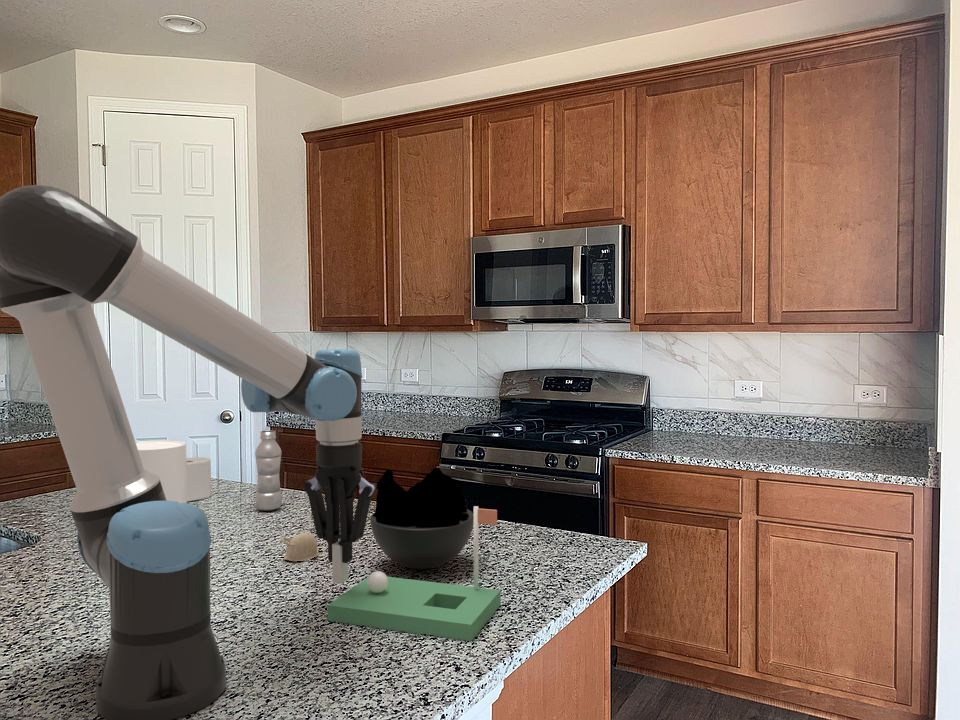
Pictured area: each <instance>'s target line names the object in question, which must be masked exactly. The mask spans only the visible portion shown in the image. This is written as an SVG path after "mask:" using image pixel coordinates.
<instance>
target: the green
mask: <svg viewBox="0 0 960 720" xmlns="http://www.w3.org/2000/svg"><path fill="white" fill-rule="evenodd" d="M473 514H474V525H473V586H468V585H467V586H466V585H459V584H451V583H445V582H443V583H442V582H433V581H427V580H419V579H418V580H417V579H411V578H409V579H408V578H401V577H392V576H387V578H388V586H387V588H386V589H385V590H384V591H383V592H381V593H373V592H372V591H370V590H369V588H368V586H367V579H368V577H369V576H367V577H366V578H364V579H363V580H362V581H360V582H358V584H356V585H354V586H353V587H352V588H350V589H349V590H347V591H345V592H344V593H343V594H342V595H340V596H339V597H337V598H336V599H335V600H333V601H332V602H330V603H329V604H328V605H327V621H328V620H329V621H328V622H333V621H335V622H334V623H340V622H343V623H342V624H347V623H349V624H350V625H354V624H357V625H356V626H361V625H364V626H363V627H368V626H369V628H370V627H371V628H376V629H384V630H389V631H390V630H391V631H396V630H397V631H398V632H403V631H404V633H410V632H411V633H410V634H417V633H419V634H418V635H423V634H426V636H430V635H434V636H433V637H437V636H440V637H439V638H444V637H446V639H451V638H453V639H454V640H458V639H459V640H460V641H467V642H472V641H473V640H474V639H475V637H476V636H477V635H478V634H479V633H480V631H481V630H482V629H483V627H485V625H486V624H487V623H488V622H489V620H490V618H492V616H493V615H494V614H495V612H496V611H497V610H498V609H499V608H500V606H501V597H502V595H501V594H502V593H501V589H493V588H486V587H479V524H481V525H482V524H483V525H492V526H493V525H494V526H497V524H498V510H497V509H488V508H479V506H478V505H477V506H476V505H474V506H473ZM336 621H337V622H336ZM485 623H486V624H485ZM349 624H348V625H349ZM397 631H396V632H397ZM453 639H452V640H453Z"/></svg>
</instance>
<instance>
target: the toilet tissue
mask: <svg viewBox="0 0 960 720" xmlns="http://www.w3.org/2000/svg"><path fill="white" fill-rule="evenodd" d="M211 462H212V461H211V458H208V457H202V456H201V457H200V456H197V457H195V456H194V457H193V456H192V457H186V480H187V502H191V501H199V500H203V499H205V500H206V499H207V498H210V497H211V496H212V473H211V472H212V471H211V467H212V466H211V464H212V463H211Z"/></svg>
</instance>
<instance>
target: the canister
mask: <svg viewBox="0 0 960 720" xmlns="http://www.w3.org/2000/svg"><path fill="white" fill-rule="evenodd" d="M135 442H136V446H137V449H138V452H139V455H140V458H141V461H142V464H143V467H144V469H145V470H146V471H149V472H151V473H153V474H156V475H158V476H159V479H160V482H161V485H162V488H163V491H164V494H165V497H166V500H167V501H177V502H178V503H188V501H187V480H186V458H187V445H186V444H187V443H186V441H183V440H171V439H170V440H169V439H165V440H164V439H163V440H162V439H161V440H160V439H159V440H145V441H143V440H142V441H135Z"/></svg>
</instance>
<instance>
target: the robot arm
mask: <svg viewBox="0 0 960 720" xmlns="http://www.w3.org/2000/svg"><path fill="white" fill-rule="evenodd" d="M141 243H142V242H141V240H140V237H139V236H137V235H136V234H134V233H132V232H131V231H129V230H128V229H126V228H125V227H123V226H122V225H120V223H119V224H118V223H117V222H116V221H115V220H114V219H111V218H110V217H109V216H107V215H106V214H105V213H103V212H101V211H100V210H98V209H97V208H95V207H94V206H92V205H91V204H89V203H88V202H86V201H84V200H83V199H81V198H80V197H79V196H76V195H74V194H73V193H70V192H68V191H67V190H64V189H61V188H58V187H55V186H50V185H43V184H33V185H24V186H21V187H20V186H19V187H16V188H14V189H12V190H9V191H8V192H6V193H5V194H3V195H1V196H0V311H1V312H2V313H6V314H7V315H9V316H11V317H13V318H15V319H16V320H17V321H18V322H19V325H20V328H21V331H22V333H23V336H24V339H25V342H26V345H27V348H28V351H29V354H30V357H31V360H32V363H33V365H34V369H35V371H36V374H37V377H38V380H39V383H40V385H41V388H42V392H43V395H44V397H45V401H46V403H47V407H48V409H49V413H50V415H51V418H52V420H53V423H54V427H55V430H56V432H57V437H58V438H59V441H60V445H61V448H62V450H63V453H64V456H65V459H66V462H67V464H68V468H69V471H70V473H71V476H72V479H73V482H74V485H75V488H76V494H75V495H74V497H73V498H72V500H71V502H70V503H69V506H68V507H69V510H70V514H71V516H72V519H73V521H74V524H75V525H74V526H75V527H76V530H77V536H76V539H77V548H78V551H79V554H80V556H81V558H82V560H83V562H84V563H85V565H86V566H87V567H88V568H89V569H90V570H91V571H92V572H93V573H94V574H96V575H97V576H98V577H99V579H101V581H103V584H105V585H106V586H107V587H108V591H109V617H110V619H109V620H110V622H109V623H110V643H109V645H108V646H109V647H108V650H107V653H106V656H105V659H104V662H103V667H102V670H101V676H100V677H99V679H98V682H97V685H96V687H95V689H96V690H95V701H96V702H95V703H96V705H95V707H96V710H97V714H99V716H101V717H102V718H104V719H106V720H174V719H178V718H182V717H185V716H188V715H191V714H193V713H195V712H198V711H200V710H201V709H203V708H205V707H206V706H209V705H210V704H211V703H213V702H214V701H216V700H217V699H218V698H219V697H220V696H221V695H222V694H223V692H224V691H225V689H226V686H227V667H226V662H225V661H224V658H223V657H222V656H221V654H220V649H219V647H218V643H217V641H216V637H215V635H214V631H213V628H212V623H211V622H212V621H211V616H212V615H211V613H212V612H211V611H212V610H211V609H212V608H211V606H212V605H211V544H212V536H211V531H210V528H209V519H208V517H207V514H206V513H205V512H204V511H203V510H202V509H201V508H200V507H198V506H196V505H194V504H191V503H189V502H187V503H178V502H177V501H167V500H166V497H165V494H164V491H163V488H162V485H161V482H160V479H159V476H158V475H156V474H153V473H151V472H149V471H146V470H145V469H144V467H143V464H142V461H141V458H140V455H139V452H138V449H137V446H136V442H137V441H136V440H135V437H134V434H133V430H132V427H131V425H130V421H129V418H128V417H129V416H128V415H127V412H126V408H125V406H124V403H123V399H122V396H121V393H120V390H119V387H118V383H117V380H116V377H115V374H114V371H113V369H112V368H113V367H112V365H111V361H110V358H109V356H108V353H107V352H108V351H107V349H106V346H105V343H104V339H103V337H102V334H101V330H100V326H99V324H98V321H97V318H96V315H95V311H94V308H93V304H94V305H95V304H99V303H100V304H101V303H108V304H110V305H112V306H113V307H115V308H116V309H119V310H120V311H123V312H124V313H125V314H127V315H129V316H130V317H133V318H135V319H136V320H138V321H140V322H141V323H143V324H145V325H146V326H148V327H150V328H152V329H154V330H155V331H158V332H159V333H161V334H163V335H164V336H167V337H168V338H170V339H171V340H173V341H176V342H177V343H178V344H180V345H182V346H184V347H185V348H188V349H189V350H191V351H193V352H194V353H196V354H198V355H200V356H202V357H204V358H205V359H207V360H209V361H210V362H212V363H214V364H215V365H217V366H220V367H221V368H223V369H225V370H227V371H229V372H230V373H232V374H234V375H236V376H237V377H239V378H240V379H241V383H240V385H241V386H240V387H241V388H240V389H241V390H240V391H241V392H240V393H241V397H242V401H243V404H244V406H245V408H246V409H247V410H248V411H249V412H251V413H265V414H269V413H271V412H272V413H273V412H283V413H287V414H290V415H291V414H293V415H295V416H296V415H297V416H302V417H307V418H311V419H314V420H315V439H316V440H317V442H318V443H317V444H316V445H315V447H316V449H315V450H316V451H315V455H316V456H315V457H316V458H315V460H316V465H317V469H316V470H315V474H314V475H315V476H314V477H313V478H311V479H308V480H306V481H304V482H303V484H302V488H303V489H304V491H305V493H306V495H307V497H308V501H309V505H310V510H311V514H312V519H313V523H314V527H315V532H316V537H317V538H318V539H323V540H325V541H326V542H327V557H328V558H327V559H328V562H332V570H331V571H332V575H331V578H332V583H333V584H338V585H341V584H342V583H344V582H345V581H347V580H348V579H349V563H350V562H351V561H352V560H353V543H355V542H357V541H358V540H361V539H362V538H363V537H364V533H365V528H366V523H367V518H368V514H369V510H370V505H371V501H372V497H373V495H374V494H375V492H376V490H378V489H377V483H370V482H369V481H368V480H367V479H365V474H364V472H363V470H362V464H363V444H362V443H361V441H360V440H361V439H362V437H363V436H362V435H363V434H362V429H363V428H362V426H363V425H362V424H363V422H362V378H363V373H362V362H361V354H360V353H359V351H357V350H355V349H348V348H347V349H345V348H344V349H343V348H334V349H333V348H332V349H331V348H329V349H318V350H316V352H315V354H314V357H313V356H310V355H309V354H307V353H305V352H304V351H303V350H301V349H299V348H298V347H296V346H294V345H293V344H291V343H290V342H288V341H287V340H285V339H283V338H282V337H280V336H279V335H278V334H276V333H275V332H272V331H271V330H269V329H268V328H266V327H265V326H263V325H261V324H260V323H258V322H256V321H255V320H254V319H253V318H250V317H249V316H248V315H246V314H244V313H243V312H241V311H239V310H238V309H236V308H235V307H233V306H232V305H230V304H228V303H227V302H225V301H224V300H222V299H221V298H219V297H217V296H216V295H214V294H213V293H211V292H209V291H208V290H206V289H205V288H203V287H202V286H200V285H199V284H197V283H196V282H194V281H192V280H191V279H189V278H187V277H186V276H184V275H183V274H181V273H180V272H179V271H176V270H175V269H174V268H172V267H170V266H169V265H168V264H165V263H164V262H163V261H161V260H159V259H157V258H156V257H154V256H153V255H151V254H150V253H148V252H146V251H145V250H144V249H143V245H142V244H141ZM358 489H359V491H358V493H359V496H358V499H357V503H356V507H355V511H354V501H355V498H356V497H355V493H356V491H357V490H358ZM322 491H323V492H324V496H323V492H322Z"/></svg>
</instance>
